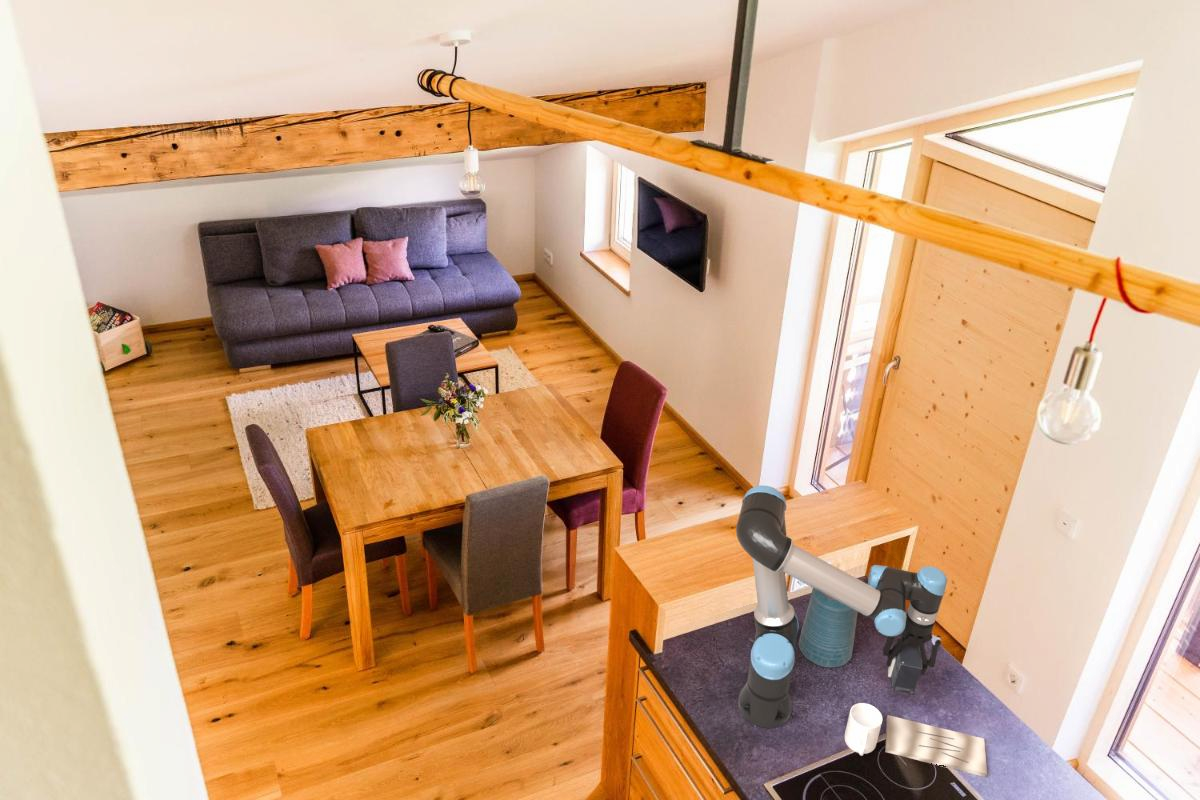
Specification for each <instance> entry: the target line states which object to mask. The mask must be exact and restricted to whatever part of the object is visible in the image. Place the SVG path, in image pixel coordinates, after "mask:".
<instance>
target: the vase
mask: <svg viewBox="0 0 1200 800" xmlns="http://www.w3.org/2000/svg"><path fill="white" fill-rule="evenodd" d="M810 594H811V595H810V597H809V598H810V599H809V602H808V604H807V610H806V614H805V617H804V620H803V623H802V627H801V632H800V635H799V640H798V647H799V651H800V652H801V654H802V655H803V656H804V657H805V658H806V659H807V660H808V661H809V662H811V663H813V664H815V665H817V666H820V667H824V668H837V667H842V666H844V665H846V664H848V662H849V661H850V660H851V659H852V655H853V651H854V650H853V649H854V643H855V637H856V636H855V635H856V626H857V620H858V613H859V612H858V611H856V610H854V609H852V608H850V607H848V606H846V605H845V604H843V603H841V602H839V601H837V600H835V599H833V598H831V597H830V596H828V595H826V594H824V593H822V592H820V591H818V590H816V589H815V588H813V587H812V590H811V593H810Z"/></svg>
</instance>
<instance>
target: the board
mask: <svg viewBox="0 0 1200 800" xmlns="http://www.w3.org/2000/svg"><path fill="white" fill-rule="evenodd" d="M885 721H886V723H885V724H886V726H885V727H886V728H885V750H884V752H885V753H888V754H893V755H896V756H900V757H903V758H906V759H907V758H909V759H911V760H915V761H916V760H917V761H919V762H923V763H927V764H931V763H932V764H931V765H936V764H937V765H936V766H939V765H944V766H945V765H946V766H949V767H953V768H955V769H957V770H956V771H958V770H960V771H959V772H962V771H963V772H962V773H966V772H967V773H968V774H970V773H971V774H970V775H975V776H979V777H983V778H987V775H988V768H987V756H986V755H987V754H986V744H985V738H982V737H978V736H974V735H971V734H967V733H962V732H959V731H954V730H952V729H951V730H950V729H946V728H941V727H939V726H938V727H937V726H935V725H929V724H926V723H922V722H918V721H914V720H909V719H905V718H901V717H897V716H893V715H888V714H887V716H886V720H885ZM955 769H954V770H955ZM967 773H966V774H967Z"/></svg>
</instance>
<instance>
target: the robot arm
mask: <svg viewBox="0 0 1200 800" xmlns="http://www.w3.org/2000/svg"><path fill="white" fill-rule="evenodd" d="M741 503H742V504H741V509H740V512H739V516H738V520H737V523H736V528H735V531H736V532H735V533H736V538H737V540H738V543H739V544H740V546H741V547H742V548H743V550H744V551H745V552H746V553H747V554H748V555H749V556H750V557H751V558H752V566H753V573H754V582H755V583H754V584H755V588H756V599H757V605H756V607H755V608H754V610H753V612H754V614H753V616H754V623H755V635H754V641H753V645H752V647H751V650H750V661H749V669H748V676H747V681H746V683H745V685H743V687H742V689H741V690H740V692H739V695H738V702H737V705H738V710H739V712H740V714H741V716H742V717H743V718H744V719H745V720H746V721H748V722H749V723H750V724H752V725H754V726H757V727H760V728H764V729H773V728H774V729H775V728H779V727H782V726H783V725H784V724H786V723H787V722H788V720H790V717H791V713H792V708H793V706H792V705H793V704H792V699H791V696H790V693H789V692H790V691H789V688H790V683H791V679H792V678H791V677H792V673H793V667H794V665H795V661H796V660H795V659H796V657H795V652H796V645H797V644H796V643H797V636H798V632H799V619H798V618H799V617H798V615H797V613H796V611H795V608H794V606H793V605H792V604H791V603H790V602H789V597H788V590H787V589H788V588H787V579H786V575H789V576H791V577H792V578H794V579H796V580H798V581H800V582H802V583H803V584H806V585H808V586H809V587H811V588H812V589H813V588H815V589H816V590H818V591H820V592H822V593H824V594H826V595H828V596H830V597H831V598H833V599H835V600H837V601H839V602H841V603H843V604H845V605H846V606H848V607H850V608H852V609H854V610H856V611H858V613H860V614H862V615H863V616H865V617H867V618H869V619H871V620H873V623H874V626H875V629H876V630H877V631H878V632H879V633H880V634H881V635H883V636H885V637H887V639H886V641H885V642H884V646H883V648H882V656H884V657H887V659H886V666H887V667H888V668H887V669H888V670H887V677H888V678H891V674H892V671H893V668H894V664H895V661H896V655H897V654H898V653H899V652H900V651H901V650H902V648H903V647H904V646H906V645H907V644H908V643H910V644H915V645H918V646H919V649H920V656H921V663H922V671H921V674H920V675H925V673H926V670H927V669H928V667H930V668H934V667H935V665H936V660H937V653H938V649H939V647H940V646H941V644H942V637H941V636H940V635H938V634H937V635H934V634H933V633H932V632H933V629H934V626H935V621H936V620H937V616H938V614H939V610H940V607H941V604H942V600H943V599H944V595H945V593H946V587H947V583H948V578H947V577H948V576H947V575H946V574H945V573H944V571H942V570H941V569H940V568H937V567H935V566H930V565H928V566H922V567H921V568H920V569H919V571H918V572H916V571H914V572H913V571H912V572H911V571H908V570H903V569H899V568H894V567H890V566H889V565H888V566H887V565H880V564H879V565H878V564H874V565H872V566H871V567H870V568H869V569H870V570H869V573H868V578H867V582H864V581H863V580H860V579H858V578H857V577H855V576H853V575H851V574H849V573H848V572H845V571H844V570H842V569H840V568H838V567H837V566H835V565H833V564H831V563H828V562H827V561H825V560H823V559H821V558H820V557H818V556H815V555H814V554H812V553H810V552H808V551H806V550H805V549H803V548H801V547H800V546H797V545H795V544H794V542H793V541H794V540H793V539H792V538H790V537H789V536H787V527H786V517H785V516H786V515H785V514H786V512H785V511H786V510H787V501H786V498H785V496H784V494H783V493H782V492H781V491H780V490H777V489H776V488H775V487H773V486H769V485H757V486H754V487H752V488H750V489H748V491H746V493H745V495H744V497H743V498H742V501H741ZM906 600H907V601H909V604H908V608H907V606H906V602H907V601H906ZM906 608H907V609H906ZM899 635H901V636H900V638H899V639H900V640H899V641H898V642H897V641H896V642H897V643H895V644H894V645H893V643H894V641H895V638H896V637H898V636H899ZM929 641H931V643H932V645H931V650H930V655H929V659H928V657H927V652H926V645H925V644H926V643H928V642H929ZM919 680H920V678H919V679H918V682H919ZM918 682H917V684H918Z"/></svg>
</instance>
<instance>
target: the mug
mask: <svg viewBox="0 0 1200 800" xmlns="http://www.w3.org/2000/svg"><path fill="white" fill-rule="evenodd" d="M847 718H848V719H847V723H846V727H845V732H844V741H845V742H844V743H845V744H846V746H847V747H848V748H849V749H850V750H851V751H853V752H855V753H857V754H859V756H861V757H862V756H864V754H865V755H867V754H869V753H872V752H873V751H874V750H875V749H876V747H877V743H878V740H879V739H878V738H879V736H880V732H881V727H882V723H883V715H882V713H881V712H880V709H878V708H877V707H876V706H873V705H872V704H869V703H867V702H859V703H855V704H853V705H852V706H851V708H850V710H849V714H848V717H847Z"/></svg>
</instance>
